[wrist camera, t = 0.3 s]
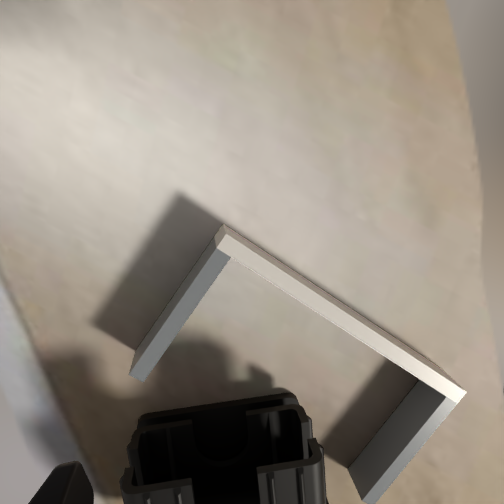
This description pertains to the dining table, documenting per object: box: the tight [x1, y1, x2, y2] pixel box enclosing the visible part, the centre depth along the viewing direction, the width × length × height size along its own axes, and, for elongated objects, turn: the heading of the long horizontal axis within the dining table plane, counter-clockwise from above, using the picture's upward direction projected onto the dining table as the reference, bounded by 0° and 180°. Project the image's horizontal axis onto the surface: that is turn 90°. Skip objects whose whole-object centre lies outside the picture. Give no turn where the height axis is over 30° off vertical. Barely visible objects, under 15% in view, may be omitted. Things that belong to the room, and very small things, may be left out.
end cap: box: [119, 393, 329, 504], centre depth 24 cm, size 10×7×7 cm
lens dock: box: [129, 224, 467, 504], centre depth 25 cm, size 8×16×2 cm, turn 55°
